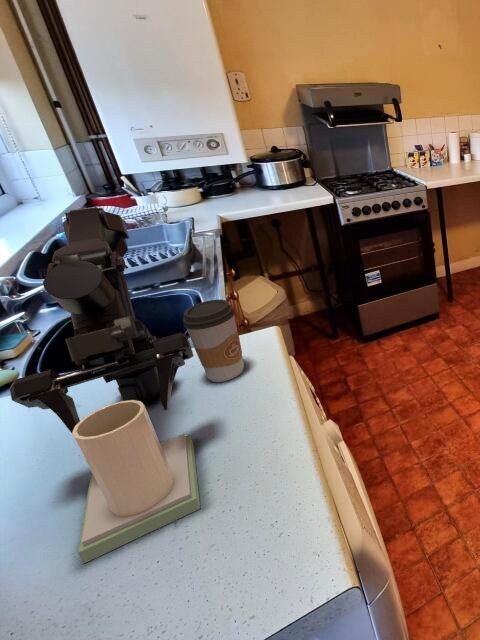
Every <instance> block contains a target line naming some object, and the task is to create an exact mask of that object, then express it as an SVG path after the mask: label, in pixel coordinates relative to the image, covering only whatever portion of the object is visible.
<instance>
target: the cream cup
mask: <svg viewBox="0 0 480 640" xmlns="http://www.w3.org/2000/svg"><path fill="white" fill-rule="evenodd" d="M150 418H151V417H150V416H149V413H148V411H147V408H146V405H144V404H143V403H142V402H141V401H136V400H128V401H122V400H121V401H117V402H114V403H110V404H108V405H105V406H103V407H100V408H98V409H97V410H94V411H92V412H91V413H89V414H88V415H85V416H83V418H82V419H81V420H80V422H79V423H78V424H77V425H76V426H75V427H74V429H73V432H72V433H71V434H72V437H73V438H74V440H75V443H76V444H77V446H78V448H79V450H80V452H81V454H82V456H83V458H84V460H85V462H86V464H87V466H88V468H89V470H90V472H91V473H92V474H93V476H94V478H95V480H96V482H97V484H98V486H99V488H100V490H101V492H102V494H103V496H104V498H105V500H106V502H107V504H108V506H109V508H110V509H111V511H112V513H113V514H114V515H116V516H120V517H126V516H132V515H135V514H138V513H141V512H143V511H145V510H147V509H149V508H151V507H153V506H154V505H156V504H157V503H159V502H160V501H161V500H162V499H163V498H165V497H166V496H167V494H168V493H169V492H170V491H171V489H172V487H173V485H174V477H173V474H172V471H171V469H170V466H169V464H168V462H167V459H166V457H165V454H164V452H163V449H162V447H161V444H160V443H161V442H160V439H159V437H158V435H157V432H156V429H155V428H154V425H153V423H152V420H151V419H150Z"/></svg>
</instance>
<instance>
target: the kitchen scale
mask: <svg viewBox="0 0 480 640" xmlns="http://www.w3.org/2000/svg"><path fill="white" fill-rule="evenodd" d="M160 444H161V447H162V449H163V452H164V454H165V457H166V459H167V462H168V464H169V466H170V469H171V471H172V474H173V477H174V485H173V487H172V489H171V491H170V492H169V493H168V494H167V496H166V497H165V498H163V499H162V500H161V501H160V502H159V503H157V504H156V505H154V506H153V507H151V508H149V509H147V510H145V511H143V512H141V513H138V514H135V515H132V516H126V517H120V516H116V515H114V514H113V513H112V511H111V509H110V508H109V506H108V504H107V502H106V500H105V498H104V496H103V494H102V492H101V490H100V488H99V486H98V484H97V482H96V480H95V478H94V476H93V474H92V472H91V473H90V476H89V477H90V478H89V484H88V488H87V495H86V502H85V507H84V509H85V510H84V514H83V520H82V526H81V532H80V539H79V543H78V551H77V553H78V555H79V558H80V559H81V560H82V563H83V564H86V563H88V562H91V561H92V560H95V559H97V558H99V557H101V556H103V555H106V554H108V553H109V552H111V551H114V550H115V549H118V548H120V547H122V546H124V545H126V544H129V543H130V542H132V541H135V540H137V539H139V538H142V537H143V536H145V535H148V534H150V533H152V532H154V531H156V530H158V529H160V528H162V527H164V526H166V525H168V524H170V523H173V522H174V521H177V520H179V519H181V518H183V517H185V516H188V515H190V514H192V513H194V512H196V511H198V510H201V502H200V501H201V500H200V493H199V484H198V483H199V482H198V474H197V466H196V465H197V464H196V456H195V447H194V442H193V439H192V437H191V434H187V435H186V434H185V433H183V434H180V435H178V436H176V437H173V438H170V439H168V440H165V441H162V442H160Z"/></svg>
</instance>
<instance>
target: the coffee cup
mask: <svg viewBox="0 0 480 640" xmlns="http://www.w3.org/2000/svg"><path fill="white" fill-rule="evenodd" d="M235 313H236V312H235V310H234V308H233V306H232V305H231V304H230V303H229V301H228V300H227V299H210V300H206V301H202V302H198V303H196V304H194V305H191V306H190V307H188V308H187V309H185V311H184V312H183V318H182V321H183V328H185V329H186V331H187V332H188V335H189V338H190V340H191V341H192V345H193V348H194V351H195V352H196V353H195V354H196V355H197V357H198V360H199V362H200V364H201V366H202V367H203V370H204V373H205V374H206V377H207V379H208V380H209V381H211V382H214V383H223V382H227V381H231V380H233V379H235V378H237V377H238V376H240V375H241V374H242V373H243V371H244V368H245V363H244V357H243V350H242V346H241V340H240V335H239V332H238V328H237V323H236V318H235Z"/></svg>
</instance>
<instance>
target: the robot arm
mask: <svg viewBox="0 0 480 640" xmlns="http://www.w3.org/2000/svg"><path fill="white" fill-rule="evenodd" d="M64 217H65V220H64V221H63V222H62V224H61V226H62V229H63V232H64V235H65V239H66V242H67V243H66V245H64V246H62V247H60V248H58V249H56V250H55V251H54V253H53V256H52V258H51V261H52V262H50V263H48V266H47V270H46V274H45V276H44V279H43V281H42V286H43V288H44V290H45V291H46V293H48V295H50V296H51V298H52V299H54V300H55V302H56V303H58V304H59V305H60V306H61V307H62V309H64V311H66V312H68V313H70V317H71V322H72V325H73V335H74V336H70V337H67V338H65V339H64V340H65V342H66V346H67V348H68V352H69V355H70V358H71V361H72V363H73V362H74V363H75V365H76V366H77V367H80V366H81V367H82V368H81V369H77V370H74V371H71V372H67V373H64V374H60V373H58V372H56V371H55V370H53V369H47V370H44V371H39V372H37V373H33V374H30V375H26V376H22V377H19V378H16V379H14V381H13V382H12V384H10V387H9V392H10V398H11V401H12V402H14V403H16V404H19V405H21V406H24V407H26V408H28V409H31V408H39V409H41V410H51V411H52V412H53V413H54V414H55V415H56V416H57V417H58V418H59V420H61V422H62V423H63V425H64V426H65V427H66V428H67V430H68V431H69V432H70V433H71V434H72V432H73V429H74V427H75V426H76V425H77V424H78V423H79V422H80V421H81V420H80V417H79V413H78V411H77V407H76V405H75V401H74V398H73V396H70V395H68V392H69V388H71V387H74V386H75V387H76V386H77V385H81V384H84V383H88V382H91V381H94V380H97V379H101V378H103V380H104V382H105V383H106V384H108V383H111V382H113V381H115V382H116V384H117V386H118V387H117V390H118V392H119V394H120V396H121V401H128V400H136V401H141V402H142V403H143V404H144V406H151V405H155V404H157V403H158V402H159V401H160V403H161V405H162V409H163V411H168V410H169V407H170V400H171V396H172V389H173V386H174V385H175V378H176V375H177V373H178V369H179V368H181V367H183V366H185V365H186V360H189V359H192V358H194V352H193V349H192V346H191V343H190V341H189V339H188V336H187V335H186V334H185V333H181V332H178V333H175V334H171V335H168V336H167V335H166V336H164V337H160V338H157V337H156V336H155V335H152V334H151V333H150V331H149V330H148V328H147V326H146V325H145V324H144V323H143V322H142V321H140V319H136V315H135V311H134V308H133V304H132V300H131V296H130V291H129V288H128V284H127V279H126V277H125V270H126V262H125V259H124V257H125V255H126V254H127V252H128V251H129V246H128V243H127V239H128V240H129V239H130V235H129V232H128V228H127V225H126V224H125V221H124V220H123V218H122V216H121V215H120V214H117V213H112V212H108V211H105V210H104V208H103V207H98V206H91V207H85V208H84V207H83V208H76V209H70V210H69V211H66V212H65V213H64Z"/></svg>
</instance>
